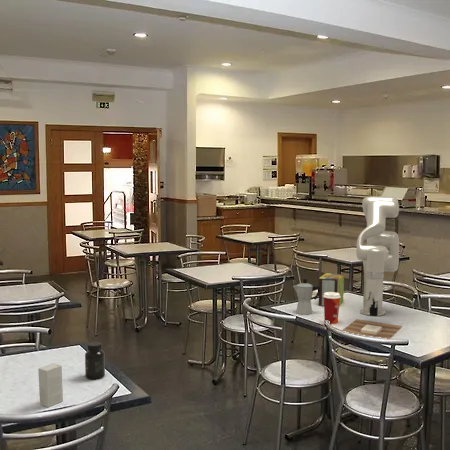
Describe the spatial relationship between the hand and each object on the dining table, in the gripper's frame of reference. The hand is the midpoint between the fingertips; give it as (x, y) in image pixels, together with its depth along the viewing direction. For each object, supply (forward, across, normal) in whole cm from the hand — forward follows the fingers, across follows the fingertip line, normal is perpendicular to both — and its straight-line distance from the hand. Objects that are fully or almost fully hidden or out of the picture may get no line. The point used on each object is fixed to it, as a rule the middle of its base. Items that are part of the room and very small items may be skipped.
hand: (373, 315), depth 255 cm
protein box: (+8, -41, -35) cm, 55 cm away
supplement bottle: (+9, +105, -70) cm, 127 cm away
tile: (+6, -2, 0) cm, 7 cm away
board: (+8, -2, -1) cm, 8 cm away
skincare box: (+9, +129, -66) cm, 145 cm away
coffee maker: (+8, -16, -39) cm, 43 cm away
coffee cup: (+8, -3, -21) cm, 23 cm away
